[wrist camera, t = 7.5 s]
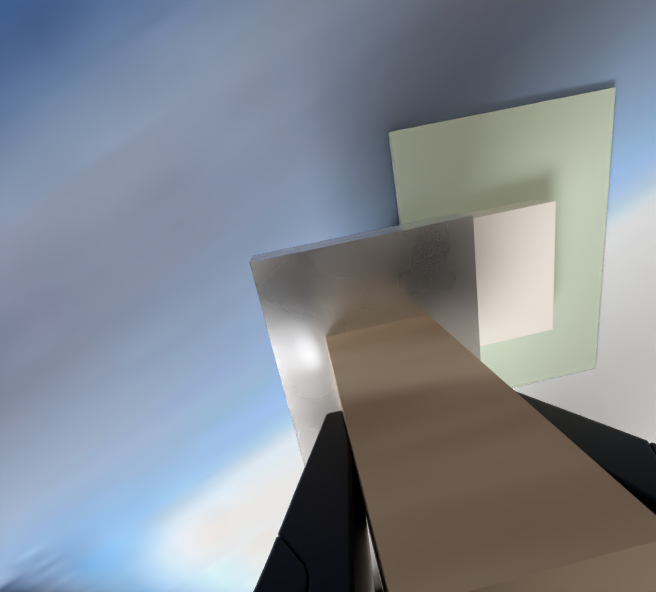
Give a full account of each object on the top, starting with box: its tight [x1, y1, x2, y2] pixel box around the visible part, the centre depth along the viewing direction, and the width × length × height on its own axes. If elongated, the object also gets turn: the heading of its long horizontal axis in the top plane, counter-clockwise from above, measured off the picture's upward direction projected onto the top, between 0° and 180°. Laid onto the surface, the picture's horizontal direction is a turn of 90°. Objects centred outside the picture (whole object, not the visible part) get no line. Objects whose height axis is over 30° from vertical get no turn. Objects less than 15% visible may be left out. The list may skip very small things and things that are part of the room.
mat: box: [388, 87, 616, 388], centre depth 16 cm, size 14×10×1 cm
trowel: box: [250, 213, 656, 592], centre depth 7 cm, size 8×6×8 cm
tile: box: [465, 200, 556, 346], centre depth 16 cm, size 6×2×7 cm
